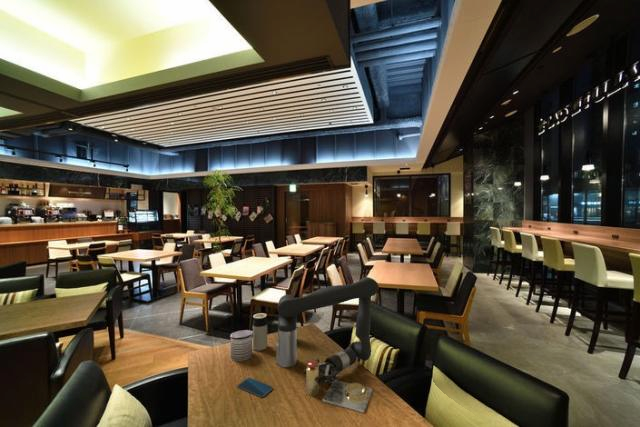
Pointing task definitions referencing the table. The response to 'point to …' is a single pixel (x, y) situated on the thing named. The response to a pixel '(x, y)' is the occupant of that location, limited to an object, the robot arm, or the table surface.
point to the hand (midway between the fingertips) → (310, 377)
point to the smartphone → (255, 387)
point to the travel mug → (259, 331)
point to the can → (241, 345)
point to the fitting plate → (348, 401)
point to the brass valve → (312, 377)
